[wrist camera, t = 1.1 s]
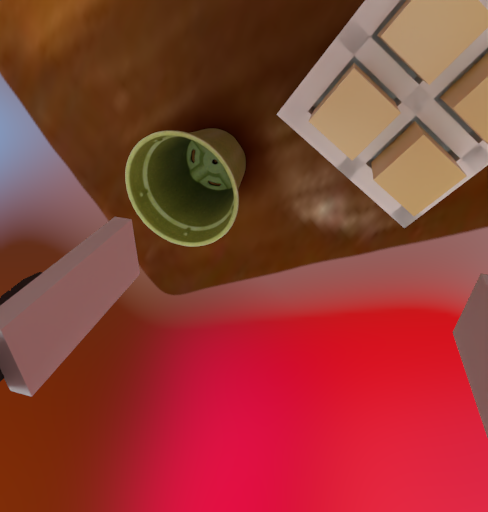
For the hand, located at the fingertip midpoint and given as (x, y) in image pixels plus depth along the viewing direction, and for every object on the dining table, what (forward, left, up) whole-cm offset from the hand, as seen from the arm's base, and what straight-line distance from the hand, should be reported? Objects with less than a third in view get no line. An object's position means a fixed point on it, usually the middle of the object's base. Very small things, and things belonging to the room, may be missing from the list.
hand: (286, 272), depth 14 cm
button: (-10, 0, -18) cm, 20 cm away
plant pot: (+8, -6, -21) cm, 24 cm away
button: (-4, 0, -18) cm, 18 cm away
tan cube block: (-4, +6, -18) cm, 19 cm away
